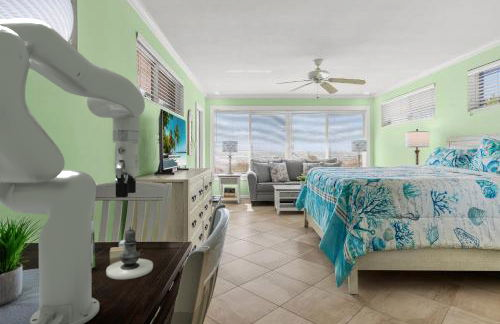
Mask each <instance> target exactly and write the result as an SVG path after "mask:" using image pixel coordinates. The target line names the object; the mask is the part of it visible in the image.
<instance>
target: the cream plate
mask: <svg viewBox="0 0 500 324" xmlns="http://www.w3.org/2000/svg"><path fill="white" fill-rule="evenodd" d="M136 263H138V264H139V267H137V268H135V269H131V270H123V269H121V268H120V267H121V266H122V265H123V264H124V263H123V262H122V261H119V262H116V263H112V264H109V266H107V267H106V270H105V273H106V277H108V278H110V279H114V280H131V279H136V278H137V279H138V278H140V277H143V276H145V275H148V274H149V273H151V272H152V270H153V269H154V263H153V261H152V260H150V259H146V258H139V259H138V261H137V262H136Z"/></svg>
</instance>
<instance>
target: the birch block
mask: <svg viewBox="0 0 500 324" xmlns="http://www.w3.org/2000/svg"><path fill="white" fill-rule="evenodd" d="M122 253H124V247H119V246H118V247H110V250H109V265H111V264H113V263H116V262H119V261H121V258H120V254H122Z"/></svg>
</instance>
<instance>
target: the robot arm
mask: <svg viewBox="0 0 500 324" xmlns="http://www.w3.org/2000/svg"><path fill="white" fill-rule="evenodd" d="M29 69H30V70H32V71H35V72H36V73H37V74H39V75H40V76H42V77H43V78H45V79H47V80H48V81H49V82H51V83H53V84H54V85H56V87H59V89H61V90H62V91H65V93H68V94H71V95H75V96H79V97H84V98H86V105H87V107H88V109H89V111H90V112H91V113H92V114H93V115H94V116H96V117H98V118H103V119H104V118H105V119H106V118H108V119H109V118H110V119H112V143H115V147H114V174H115V197H116V198H128V197H129V194H136V191H137V190H136V189H137V188H136V187H137V181H136V179H137V178H136V177H137V175H138V174H139V173H140V165H139V164H140V163H139V161H140V160H139V147H138V144H140V143H141V130H140V129H141V127H140V126H141V123H140V122H141V115H142V114H143V113H144V111H145V108H146V106H145V105H146V102H145V98H144V95H143V94H142V92H141V91H140V90H139V88H137V86H136V85H135V84H134V83H133V82H132V81H131V80H130V79H128V78H127V77H126V76H123V75H121V74H120V73H117V72H115V71H113V70H110V69H107V68H105V67H103V66H100V65H98V64H96V63H93V62H90V61H89V60H88V59H87V58H86V57H85V56H84V55H83V54H81V53H80V52H79V51H78V50H77V49H76V48H75V47H74V46H73V45H72V44H71V43H69V41H67V39H65V38H64V37H63V36H62V35H61V34H60V33H59V32H58V31H56V30H55V29H54V28H53V27H52V26H51V25H49V24H48V23H46V22H44V21H43V20H39V19H33V18H8V19H6V18H5V19H0V204H1V205H2V206H4V207H6V208H7V209H9V210H11V211H13V212H16V213H19V214H34V215H35V214H37V215H38V214H39V215H40V214H41V215H49V217H48V219H47V221H46V222H45V224H44V225H43V227H42V228H41V231H40V233H39V236H38V304H39V305H38V307H39V308H38V310H36V311H35V312H34V313H33V314H32V315H31V316H30V319H29V324H85V323H87V322H89V321H90V320H92V319H93V318H94V317H95V316H96V315H98V313H99V312H100V302H99V300H98V299H96V298H94V297H92V268H91V224H92V221H93V214H94V213H93V211H94V206H95V203H96V199H97V198H96V197H97V185H96V184H97V183H96V182H95V181H96V180H95V179H94V178H93V176H91V175H90V174H89V173H86V172H85V171H81V170H77V169H67V168H66V169H64V168H65V157H64V154H63V153H62V151H61V149H60V147H59V146H58V145H57V144H56V143H55V141H54V140H53V139H52V137H51V136H50V135H49V134H48V132H47V131H46V130H45V128H43V126H42V125H41V124H40V122H39V121H38V120H37V119H36V118H35V116H34V115H33V113H32V112H31V110H30V108H29V107H28V104H27V100H26V85H27V79H28V74H29Z"/></svg>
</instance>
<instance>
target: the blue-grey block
mask: <svg viewBox="0 0 500 324" xmlns="http://www.w3.org/2000/svg"><path fill="white" fill-rule="evenodd" d="M124 242H125V239H122V240H120V241H119V243H118V247H124V250H125V244H124Z"/></svg>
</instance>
